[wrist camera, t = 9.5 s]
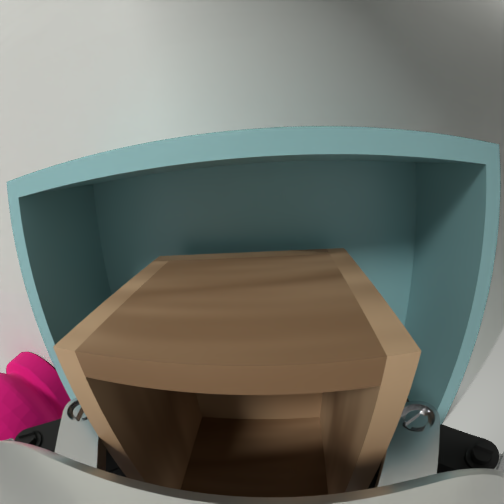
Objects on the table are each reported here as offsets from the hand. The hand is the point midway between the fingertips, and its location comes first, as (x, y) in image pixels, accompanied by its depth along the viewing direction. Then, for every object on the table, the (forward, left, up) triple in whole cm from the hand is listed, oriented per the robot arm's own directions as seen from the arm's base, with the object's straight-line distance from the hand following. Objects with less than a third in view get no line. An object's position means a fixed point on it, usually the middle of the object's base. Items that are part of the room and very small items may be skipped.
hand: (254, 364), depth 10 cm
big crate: (0, 0, -3) cm, 3 cm away
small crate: (0, 0, -1) cm, 1 cm away
